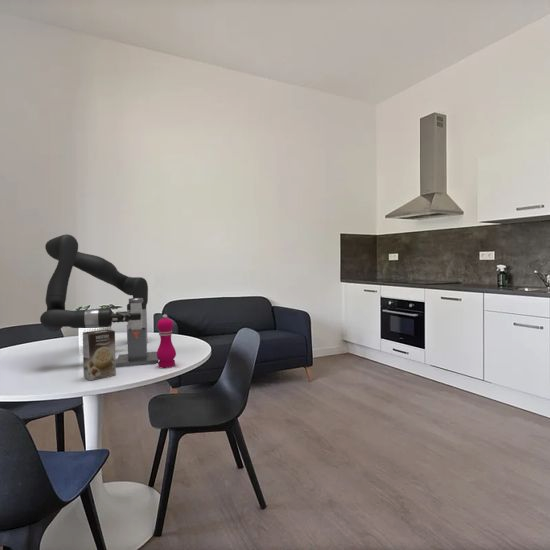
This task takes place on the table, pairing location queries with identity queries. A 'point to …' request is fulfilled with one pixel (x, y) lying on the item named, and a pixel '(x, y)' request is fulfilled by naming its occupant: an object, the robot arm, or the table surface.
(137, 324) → the post
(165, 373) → the table surface
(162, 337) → the pepper mill
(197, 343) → the table surface
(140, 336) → the stand
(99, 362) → the coffee box
